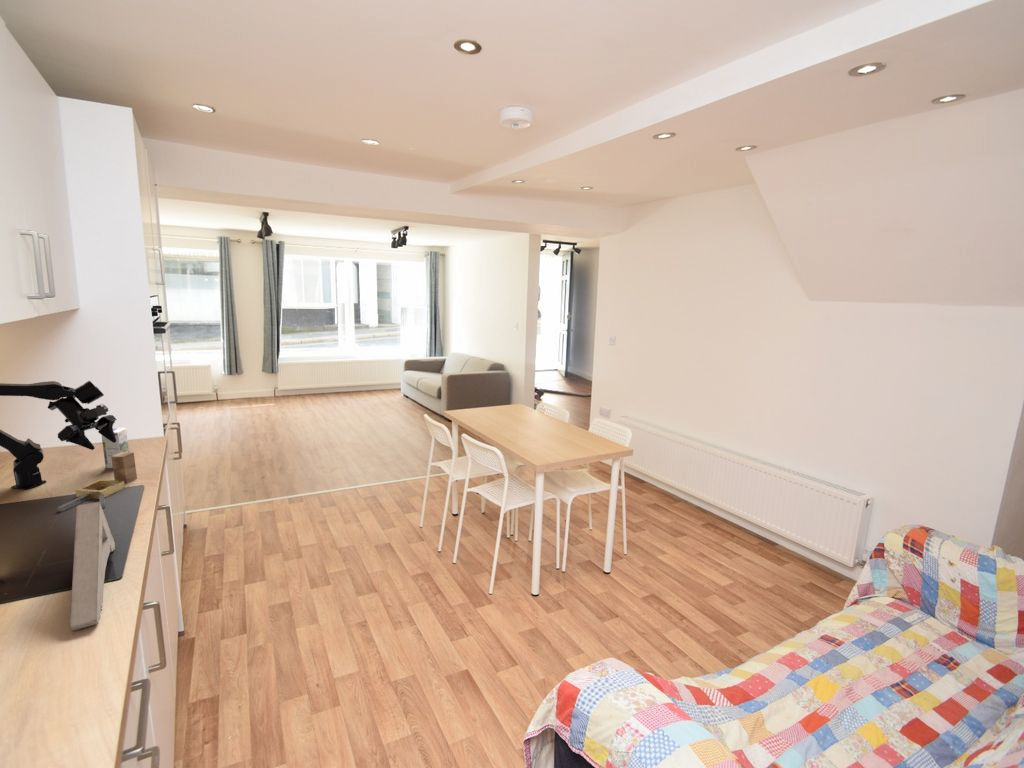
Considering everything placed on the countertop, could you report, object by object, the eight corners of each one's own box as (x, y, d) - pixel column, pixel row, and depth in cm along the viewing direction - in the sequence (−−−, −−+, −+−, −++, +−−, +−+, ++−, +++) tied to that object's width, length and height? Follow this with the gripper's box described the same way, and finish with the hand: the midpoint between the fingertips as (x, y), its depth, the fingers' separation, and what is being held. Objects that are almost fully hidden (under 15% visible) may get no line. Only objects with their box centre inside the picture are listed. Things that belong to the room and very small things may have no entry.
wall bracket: (91, 661, 119) (94, 547, 135) (114, 654, 121) (115, 543, 137) (69, 627, 104) (76, 505, 121) (96, 620, 107) (99, 501, 123)
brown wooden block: (115, 482, 177) (111, 456, 175) (125, 477, 182) (122, 451, 180) (126, 483, 177) (123, 457, 175) (137, 478, 181) (133, 452, 179)
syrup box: (114, 463, 194) (109, 427, 191) (131, 462, 195) (126, 427, 192) (105, 468, 189) (100, 432, 186) (122, 468, 190) (117, 432, 187)
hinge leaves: (46, 510, 156) (45, 503, 155) (101, 485, 174) (100, 479, 174) (91, 514, 155) (90, 506, 154) (141, 488, 173) (140, 482, 173)
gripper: (64, 403, 166) (97, 439, 168) (111, 393, 185) (140, 425, 186) (42, 423, 168) (75, 458, 169) (91, 411, 186) (120, 443, 188)
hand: (104, 445), depth 178 cm, fingers open, 9 cm apart
